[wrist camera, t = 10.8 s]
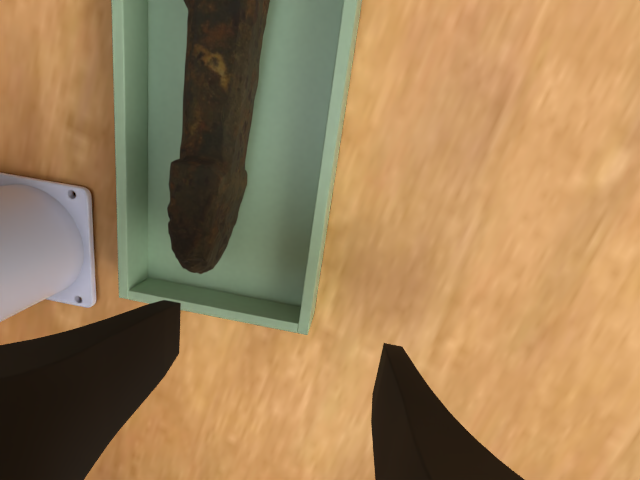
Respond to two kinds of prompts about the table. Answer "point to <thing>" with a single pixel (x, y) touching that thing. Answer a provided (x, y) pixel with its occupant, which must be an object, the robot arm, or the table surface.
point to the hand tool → (214, 127)
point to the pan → (261, 160)
